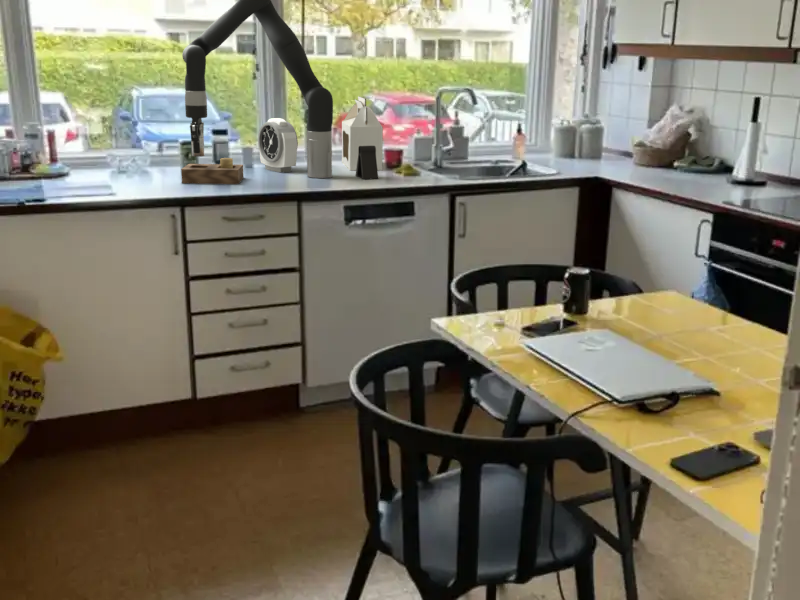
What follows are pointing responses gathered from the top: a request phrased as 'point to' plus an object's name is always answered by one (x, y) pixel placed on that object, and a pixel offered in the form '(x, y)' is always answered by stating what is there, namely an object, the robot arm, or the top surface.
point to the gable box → (360, 134)
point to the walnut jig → (213, 173)
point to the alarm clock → (278, 145)
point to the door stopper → (367, 163)
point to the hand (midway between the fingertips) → (198, 152)
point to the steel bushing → (200, 146)
